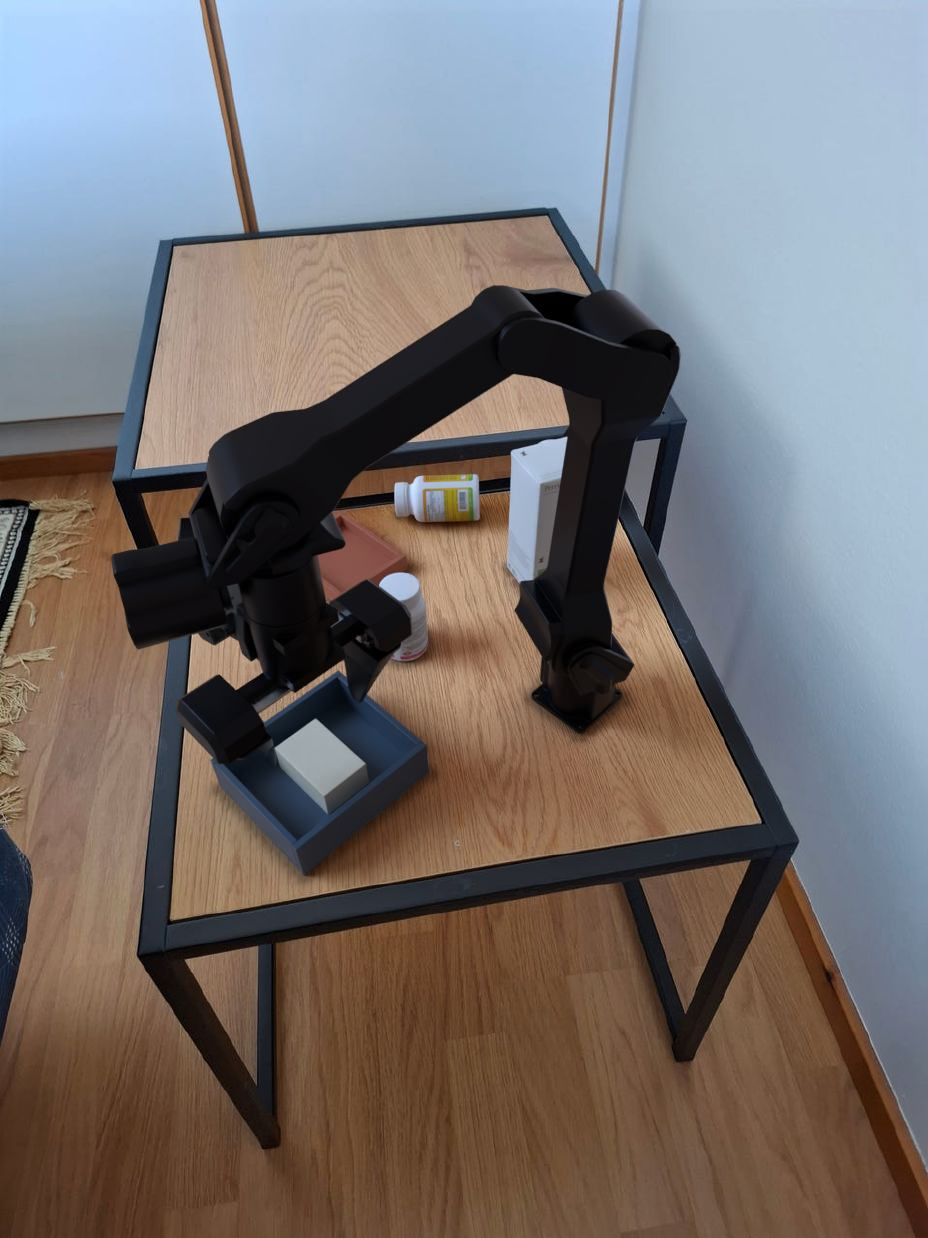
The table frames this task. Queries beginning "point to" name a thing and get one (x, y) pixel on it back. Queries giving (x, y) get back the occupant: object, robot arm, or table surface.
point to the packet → (322, 766)
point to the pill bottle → (410, 595)
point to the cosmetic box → (533, 506)
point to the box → (290, 809)
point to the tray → (357, 559)
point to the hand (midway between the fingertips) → (314, 730)
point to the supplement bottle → (439, 498)
